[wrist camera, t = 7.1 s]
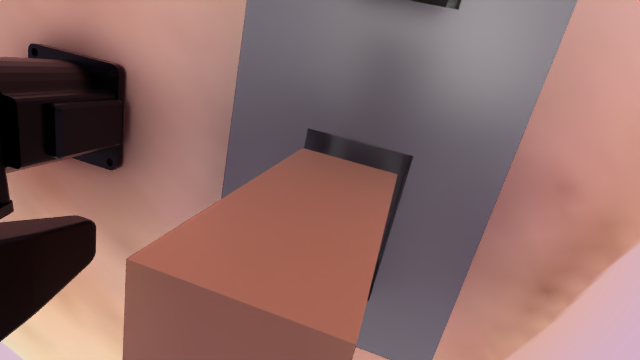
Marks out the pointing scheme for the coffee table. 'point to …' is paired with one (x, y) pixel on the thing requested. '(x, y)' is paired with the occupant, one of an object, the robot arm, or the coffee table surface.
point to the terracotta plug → (264, 268)
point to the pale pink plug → (433, 2)
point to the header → (399, 127)
